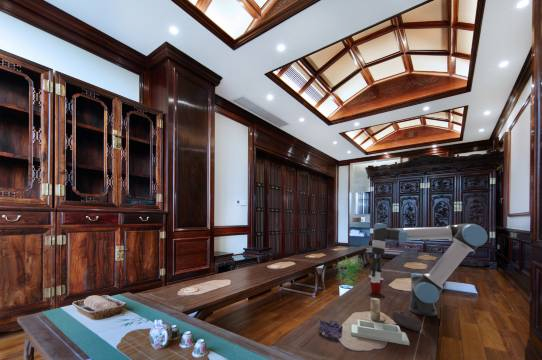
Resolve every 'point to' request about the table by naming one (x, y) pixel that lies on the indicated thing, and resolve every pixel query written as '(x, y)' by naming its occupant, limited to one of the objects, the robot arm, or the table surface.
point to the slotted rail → (379, 332)
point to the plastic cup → (376, 286)
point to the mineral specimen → (331, 329)
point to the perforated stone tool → (406, 321)
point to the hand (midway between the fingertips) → (375, 282)
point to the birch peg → (375, 310)
